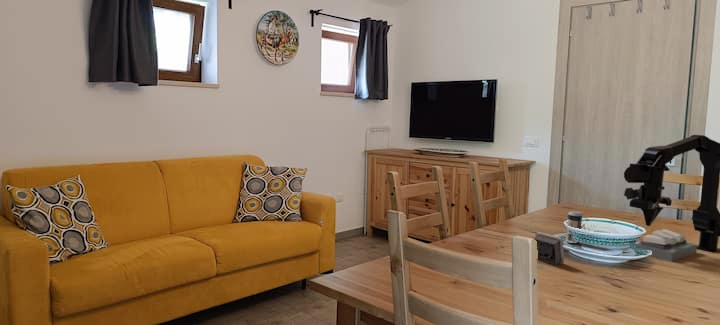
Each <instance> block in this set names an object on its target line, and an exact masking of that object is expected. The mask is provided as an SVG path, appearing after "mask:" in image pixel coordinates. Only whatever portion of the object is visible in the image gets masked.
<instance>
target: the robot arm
mask: <svg viewBox="0 0 720 325" xmlns="http://www.w3.org/2000/svg"><path fill="white" fill-rule="evenodd" d="M693 150H694V151H695V152H697V153H698V154H699V155H698V156H699V161H700V163H701V165H702V167H703V172H702V173H703V174H702V184H701V192H700V204H699V206H698V207H697V208H696V209H693V210H692V217H691V221H692V224H693V229H694V231H695V232H696V231H697V232H699V238H698V244H697V250H699V249H700V250H703V251H707V252H712V253H716V252H719V251H720V247H718V245H719V237H720V211H719V209H718V197H719V196H718V195H719V187H720V142H718V141H716V140H713V139H711V138H709V137H708V136H706V135H702V134H691V135H690V136H689V137H686V138H683V139H680V140H677V141H674V142H673V143H669V144H666V145H657V146H656V145H654V146H650V147H647V148H645V150H644V152H643V153H642V155H641V156H640V158H639V159H638V160H637V162H636V163H629V166H628V167H627V168H626V169H625V171H624V172H623V178H624V180H625V182H627V183H629V184H641V185H639V188H637V189H636V188H635V189H634V188H633V187H627V188H625V190H624V193H623V196H624V197H626V199H627V200H630V201H629V207H631V208H636V209H640V210H641V211H642V213H643V217H644V222H645V226H647V227H651V225H652V224H653V222H654V221H655V220H656V219H657V217H658V216H659V214H660V213H661V211H662V210H664V206H660V204H661V205H665V206H666V207H669V206H672V199H671V197H669V196H662V192H663V190H665V188H666V186H663V185H664V184H663V183H664V176H665V174H664V173H665V172H669V171H670V168H669V167H667V164H668V163H670V162H671V161H673V159H674V158H675V157H676V156H679V155H681V154H685V153H687V152H689V151H693Z"/></svg>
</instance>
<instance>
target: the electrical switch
mask: <svg viewBox="0 0 720 325" xmlns="http://www.w3.org/2000/svg"><path fill="white" fill-rule="evenodd" d="M533 239H535V240H536V241H537V250H538V260H537V261H540V262H544V263H547V264H551V265H554V266H557V265H559V264H560V265H563V264H564V263H565V253H564V240H563V238H562V237H559V236H555V235H553V234H547V233H544V232H540V231H538V232H535V237H533V238H532V240H533Z"/></svg>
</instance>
